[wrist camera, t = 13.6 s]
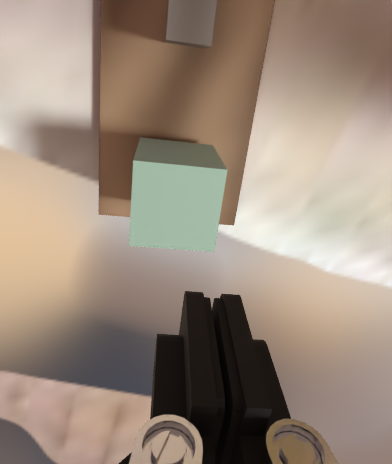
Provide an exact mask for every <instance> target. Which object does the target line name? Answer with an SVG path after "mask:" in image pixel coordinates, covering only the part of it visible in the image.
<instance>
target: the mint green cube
mask: <svg viewBox="0 0 392 464" xmlns="http://www.w3.org/2000/svg"><path fill="white" fill-rule="evenodd" d="M226 176H227V168H226V166H225V165H224V163H223V161H222V160H221V158H220V156H219V155H218V153H217V151H216V150H215V148H214V146H213V145H207V144H198V143H189V142H179V141H170V140H161V139H151V138H142V137H140V140H139V143H138V146H137V150H136V153H135V156H134V160H133V175H132V195H131V214H130V234H129V246H139V247H153V248H167V249H182V250H196V251H210V252H214V250H215V244H216V238H217V232H218V225H219V219H220V213H221V207H222V201H223V195H224V188H225V182H226Z"/></svg>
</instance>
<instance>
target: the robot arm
mask: <svg viewBox="0 0 392 464" xmlns="http://www.w3.org/2000/svg"><path fill="white" fill-rule="evenodd" d="M119 464H338V462H337V460H336V458H335V456H334V454H333V453H332V451H331V449H330V447H329V446H328V444H327V442H326V441H325V439H324V438H323V437H322V435H321V434H320V433H319V432H318V431H316V430H315V429H314V428H313V427H311V426H310V425H308V424H306V423H305V422H302V421H299V420H295V419H291V417H290V414H289V411H288V408H287V405H286V402H285V399H284V395H283V392H282V389H281V387H280V383H279V380H278V377H277V374H276V371H275V368H274V365H273V362H272V359H271V356H270V353H269V350H268V347H267V344H266V342H265V341H264V340H253V339H252V335H251V332H250V328H249V325H248V321H247V318H246V314H245V311H244V307H243V303H242V300H241V297H240V295H232V294H222V295H221V297H220V299H219V298H215V299H214V302H213V307H212V308H211V302H210V298H206V297H204V294H203V293H202V292H189V291H185V294H184V301H183V308H182V317H181V324H180V332H179V335H166V334H157V339H156V350H155V361H154V373H153V386H152V401H151V417H150V420H149V421H147V422H146V423H145V424H144V425H143V426H142V427H141V429H140V430H139V432H138V434H137V436H136V439H135V442H134V446H133V450H132V453H130V454H129V455H128V456H127V457H126V458H125V459H123V460H122V461H121V462H120V463H119Z"/></svg>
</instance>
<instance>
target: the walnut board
mask: <svg viewBox="0 0 392 464" xmlns="http://www.w3.org/2000/svg"><path fill="white" fill-rule="evenodd" d="M274 2H275V0H101V53H100V143H99V214H100V215H112V216H125V217H130V214H131V195H132V175H133V160H134V156H135V153H136V150H137V146H138V143H139V140H140V137H142V138H151V139H161V140H170V141H179V142H189V143H198V144H207V145H213V146H214V148H215V150H216V151H217V153H218V155H219V156H220V158H221V160H222V161H223V163H224V165H225V166H226V168H227V176H226V182H225V188H224V195H223V201H222V207H221V213H220V219H219V224H224V225H234V222H235V216H236V211H237V205H238V200H239V194H240V189H241V183H242V178H243V172H244V167H245V161H246V156H247V150H248V145H249V139H250V134H251V128H252V123H253V117H254V112H255V106H256V101H257V95H258V90H259V84H260V79H261V73H262V68H263V62H264V57H265V51H266V46H267V40H268V35H269V29H270V24H271V18H272V13H273V7H274Z"/></svg>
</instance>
